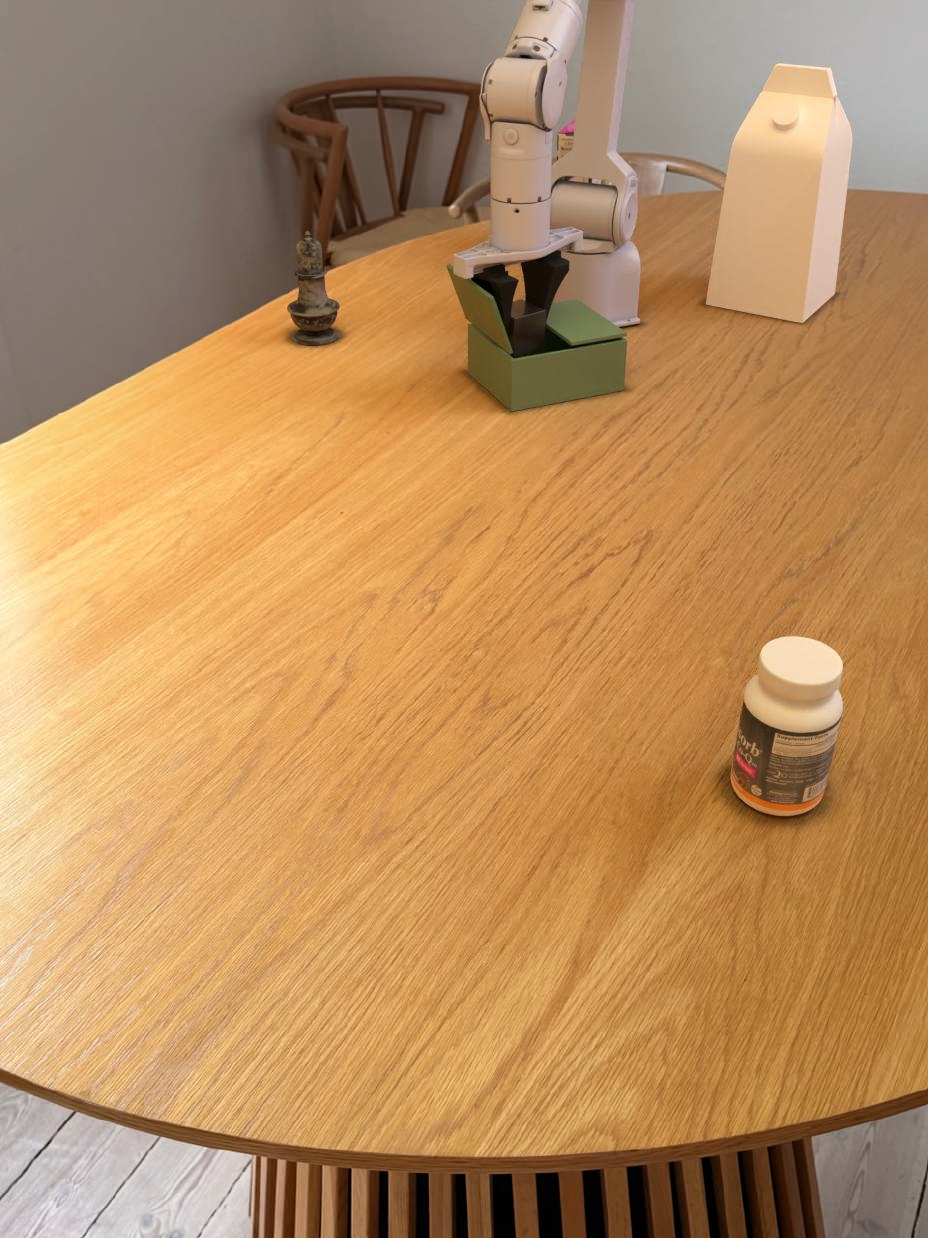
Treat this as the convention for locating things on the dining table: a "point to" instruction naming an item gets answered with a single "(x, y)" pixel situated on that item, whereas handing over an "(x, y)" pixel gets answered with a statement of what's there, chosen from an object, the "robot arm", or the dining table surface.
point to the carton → (553, 360)
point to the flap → (480, 309)
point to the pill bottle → (788, 727)
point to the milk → (784, 199)
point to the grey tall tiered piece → (312, 297)
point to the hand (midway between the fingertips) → (518, 333)
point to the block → (526, 328)
